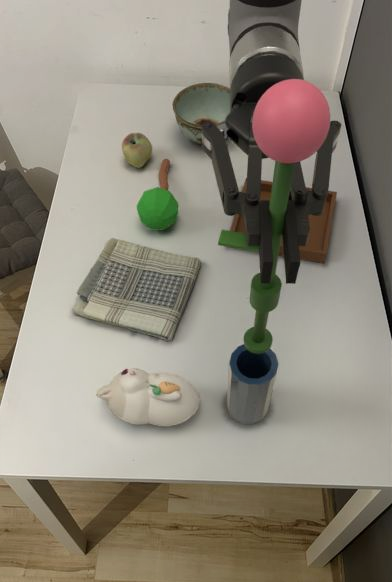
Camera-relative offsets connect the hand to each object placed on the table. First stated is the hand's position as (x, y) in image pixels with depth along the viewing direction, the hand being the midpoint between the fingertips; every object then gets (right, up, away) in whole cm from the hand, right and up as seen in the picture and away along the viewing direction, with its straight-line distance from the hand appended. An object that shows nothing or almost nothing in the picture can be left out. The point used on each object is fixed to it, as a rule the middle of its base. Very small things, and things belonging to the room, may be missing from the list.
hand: (279, 272), depth 39 cm
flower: (0, -5, +20) cm, 21 cm away
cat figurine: (-13, -15, +38) cm, 43 cm away
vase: (+1, -15, +37) cm, 40 cm away
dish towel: (-17, +4, +49) cm, 52 cm away
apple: (-18, +33, +65) cm, 76 cm away
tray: (+10, +18, +55) cm, 59 cm away
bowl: (-4, +40, +68) cm, 79 cm away
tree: (-13, +23, +60) cm, 65 cm away
